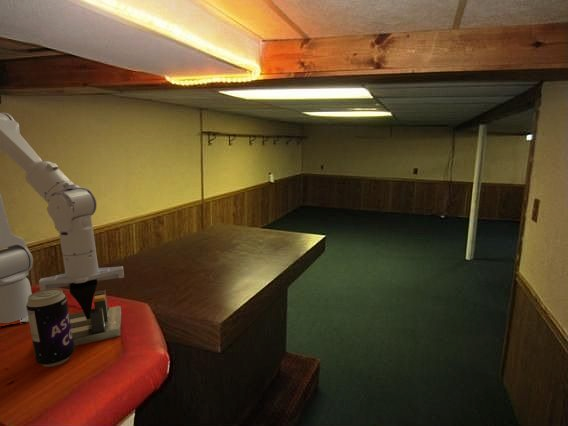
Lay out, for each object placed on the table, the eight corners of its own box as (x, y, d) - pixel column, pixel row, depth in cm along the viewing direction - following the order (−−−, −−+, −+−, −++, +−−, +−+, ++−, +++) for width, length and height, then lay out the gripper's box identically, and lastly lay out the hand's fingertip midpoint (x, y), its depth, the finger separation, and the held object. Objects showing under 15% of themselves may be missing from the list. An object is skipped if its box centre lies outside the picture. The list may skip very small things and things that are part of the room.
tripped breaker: (97, 317, 76) (94, 296, 76) (108, 315, 77) (105, 294, 76) (96, 321, 75) (93, 299, 74) (107, 319, 75) (104, 297, 75)
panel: (48, 325, 78) (43, 300, 77) (121, 311, 83) (117, 287, 82) (34, 355, 66) (29, 325, 65) (120, 336, 72) (116, 309, 71)
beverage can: (57, 370, 61) (45, 301, 59) (28, 368, 62) (16, 300, 60) (82, 351, 67) (72, 287, 65) (55, 350, 68) (44, 287, 66)
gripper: (30, 263, 66) (43, 334, 69) (119, 250, 72) (128, 317, 74) (39, 253, 73) (50, 319, 75) (120, 243, 78) (128, 304, 80)
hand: (89, 317), depth 75 cm, fingers closed
